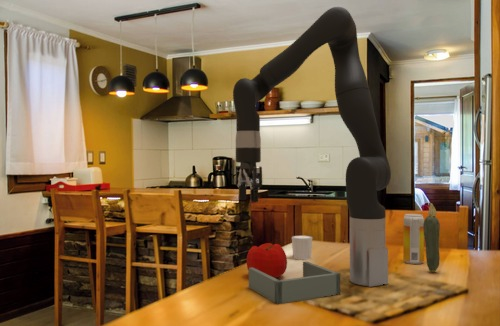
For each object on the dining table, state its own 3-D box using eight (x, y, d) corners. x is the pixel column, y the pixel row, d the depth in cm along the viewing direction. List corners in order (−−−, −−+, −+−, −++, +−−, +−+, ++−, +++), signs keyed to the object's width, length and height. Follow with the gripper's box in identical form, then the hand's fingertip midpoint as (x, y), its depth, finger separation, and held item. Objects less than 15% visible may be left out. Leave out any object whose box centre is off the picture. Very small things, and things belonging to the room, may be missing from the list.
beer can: (421, 260, 151) (421, 213, 151) (426, 264, 145) (426, 216, 145) (401, 260, 152) (401, 213, 152) (405, 264, 146) (405, 215, 146)
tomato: (261, 270, 139) (261, 239, 139) (295, 277, 131) (295, 244, 131) (237, 278, 131) (237, 245, 130) (272, 285, 123) (272, 250, 123)
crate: (340, 294, 115) (340, 273, 114) (277, 304, 107) (277, 282, 107) (306, 279, 128) (306, 261, 128) (248, 287, 121) (248, 267, 121)
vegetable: (440, 274, 133) (441, 203, 133) (424, 274, 134) (424, 203, 134) (437, 271, 137) (438, 202, 137) (422, 270, 138) (422, 202, 138)
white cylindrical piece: (313, 260, 152) (313, 238, 152) (292, 260, 152) (292, 238, 152) (311, 255, 159) (311, 235, 159) (290, 255, 159) (290, 235, 159)
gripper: (270, 146, 137) (270, 202, 137) (249, 147, 150) (249, 198, 150) (246, 146, 133) (246, 203, 134) (227, 147, 146) (227, 199, 147)
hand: (248, 200), depth 142 cm, fingers open, 8 cm apart
